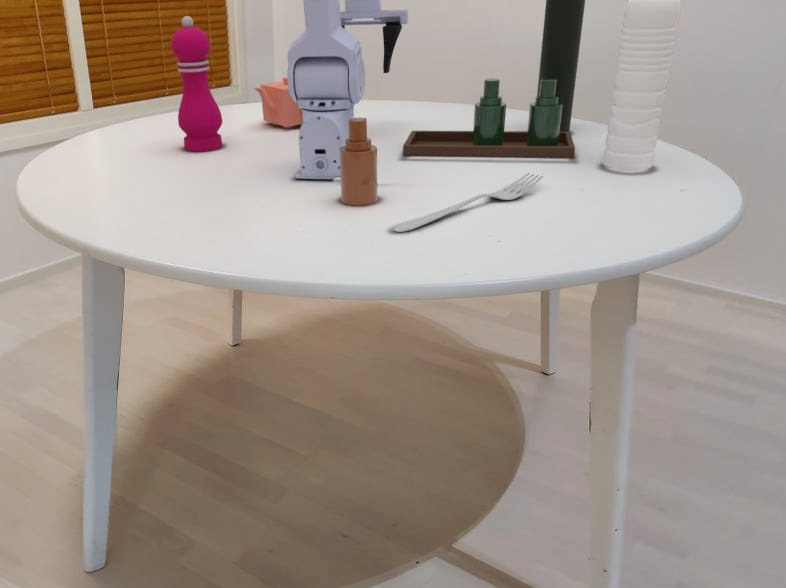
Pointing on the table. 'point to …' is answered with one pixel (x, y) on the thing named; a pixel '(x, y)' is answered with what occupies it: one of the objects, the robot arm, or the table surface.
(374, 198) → the amber bottle
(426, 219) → the fork
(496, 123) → the green bottle
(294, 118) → the teapot
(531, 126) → the green bottle
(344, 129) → the robot arm
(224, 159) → the table surface
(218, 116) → the pepper mill
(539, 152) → the tray
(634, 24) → the water bottle
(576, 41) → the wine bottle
